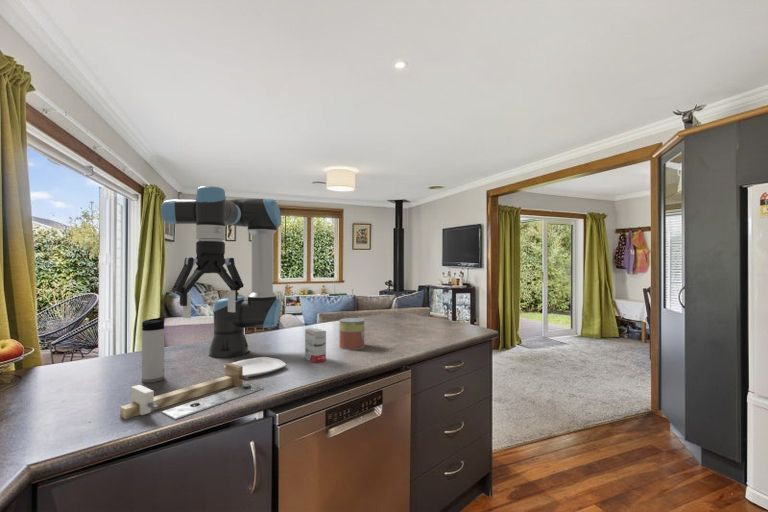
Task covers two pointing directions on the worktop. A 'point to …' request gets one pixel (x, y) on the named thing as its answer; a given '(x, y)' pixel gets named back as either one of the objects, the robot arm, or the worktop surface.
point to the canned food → (351, 333)
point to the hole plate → (211, 401)
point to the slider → (143, 399)
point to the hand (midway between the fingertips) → (210, 314)
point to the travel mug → (153, 350)
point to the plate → (259, 366)
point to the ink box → (315, 345)
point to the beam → (191, 391)
